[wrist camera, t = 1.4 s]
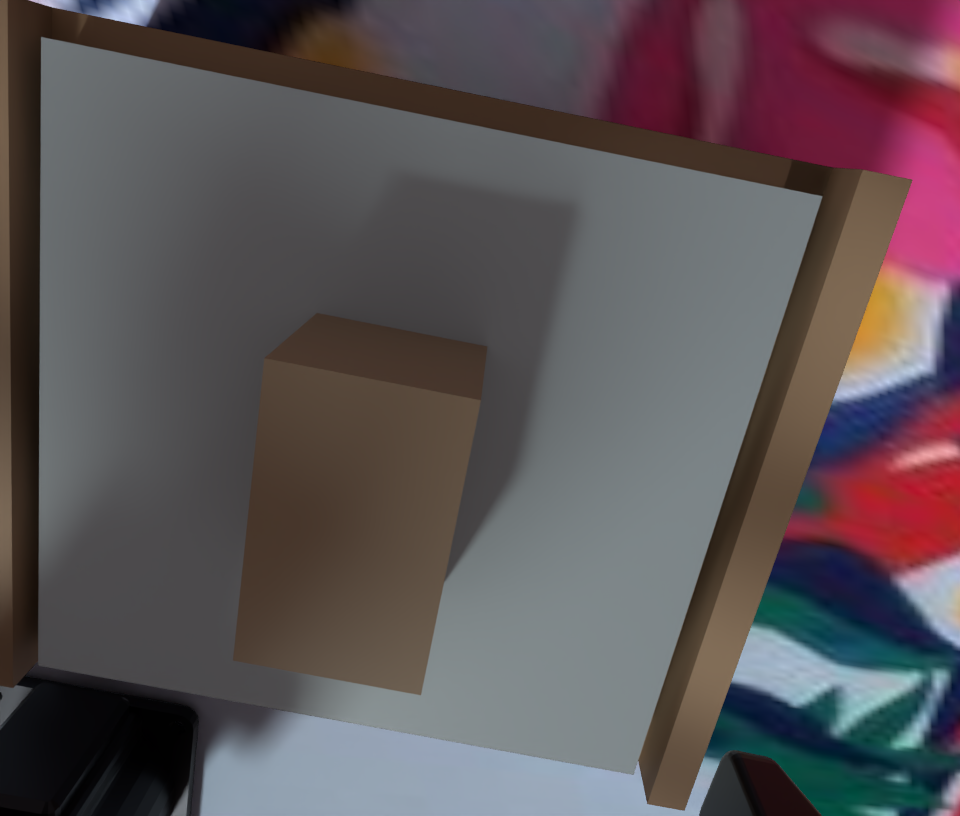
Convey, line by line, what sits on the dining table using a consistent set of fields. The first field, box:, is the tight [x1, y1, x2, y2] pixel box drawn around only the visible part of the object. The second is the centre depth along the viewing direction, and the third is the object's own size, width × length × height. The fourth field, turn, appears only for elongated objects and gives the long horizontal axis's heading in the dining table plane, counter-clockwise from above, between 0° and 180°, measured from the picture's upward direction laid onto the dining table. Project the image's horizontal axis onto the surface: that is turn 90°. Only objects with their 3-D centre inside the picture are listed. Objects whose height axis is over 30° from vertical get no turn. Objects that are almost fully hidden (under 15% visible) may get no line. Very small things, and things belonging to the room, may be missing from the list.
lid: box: [38, 37, 823, 775], centre depth 13 cm, size 12×13×4 cm
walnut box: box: [0, 0, 912, 810], centre depth 17 cm, size 13×15×6 cm
